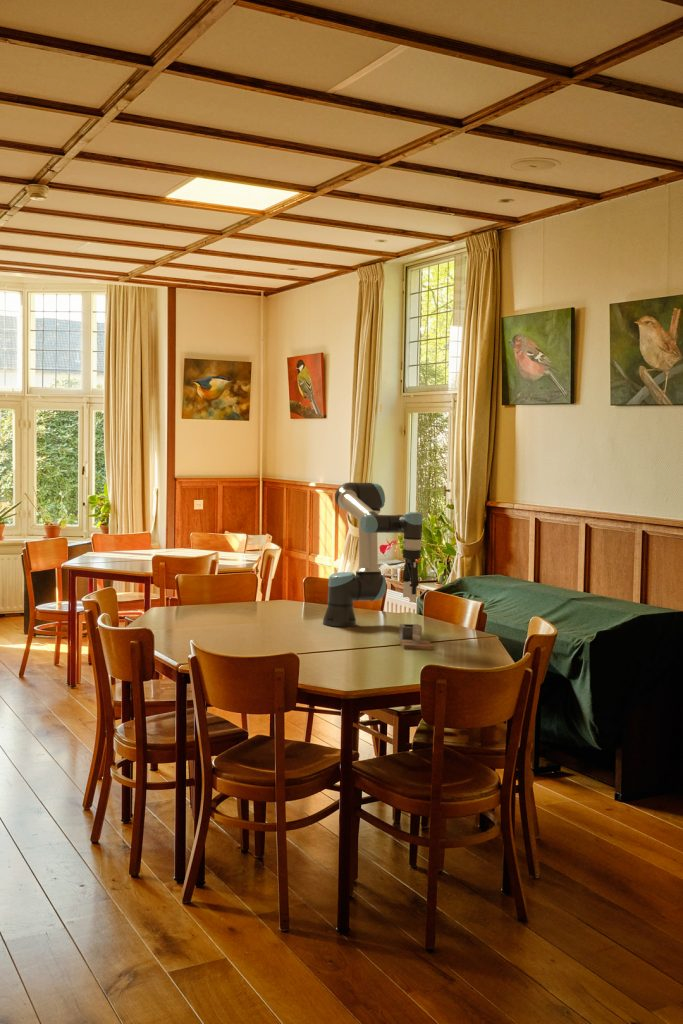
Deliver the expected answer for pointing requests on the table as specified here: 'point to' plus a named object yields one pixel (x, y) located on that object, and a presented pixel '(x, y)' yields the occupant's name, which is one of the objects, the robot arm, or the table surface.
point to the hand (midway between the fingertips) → (409, 599)
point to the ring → (406, 631)
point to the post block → (416, 641)
